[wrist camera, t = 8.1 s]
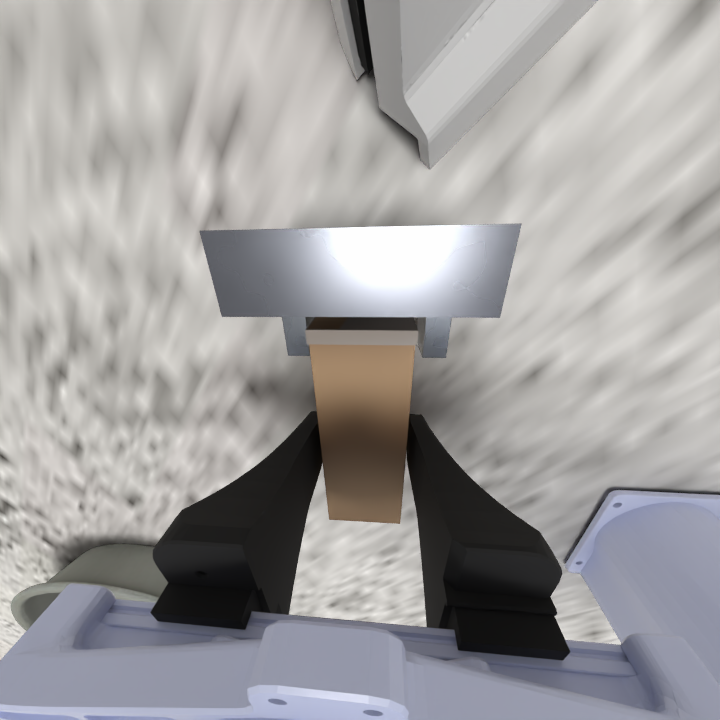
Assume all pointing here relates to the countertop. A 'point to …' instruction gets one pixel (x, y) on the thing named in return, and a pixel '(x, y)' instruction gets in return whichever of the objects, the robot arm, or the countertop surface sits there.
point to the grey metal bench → (363, 275)
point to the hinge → (448, 56)
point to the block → (363, 411)
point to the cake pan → (97, 579)
